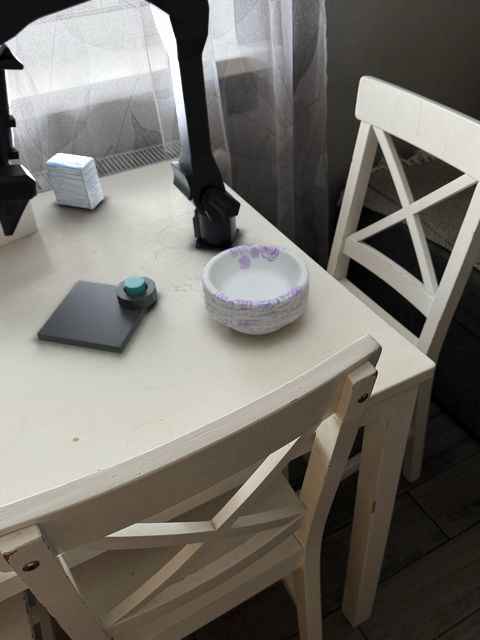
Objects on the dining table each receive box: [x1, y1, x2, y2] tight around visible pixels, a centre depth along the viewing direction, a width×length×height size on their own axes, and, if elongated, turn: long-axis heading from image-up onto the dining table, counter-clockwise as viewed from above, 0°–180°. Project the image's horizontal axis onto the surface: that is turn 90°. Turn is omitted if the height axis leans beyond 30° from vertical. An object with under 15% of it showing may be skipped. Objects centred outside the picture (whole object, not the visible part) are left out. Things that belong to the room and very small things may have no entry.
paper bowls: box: [201, 243, 310, 336], centre depth 86 cm, size 15×15×8 cm
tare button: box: [124, 275, 146, 296], centre depth 90 cm, size 3×3×2 cm
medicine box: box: [45, 152, 105, 210], centre depth 112 cm, size 8×4×9 cm, turn 71°
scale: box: [36, 275, 158, 354], centre depth 89 cm, size 14×14×3 cm
